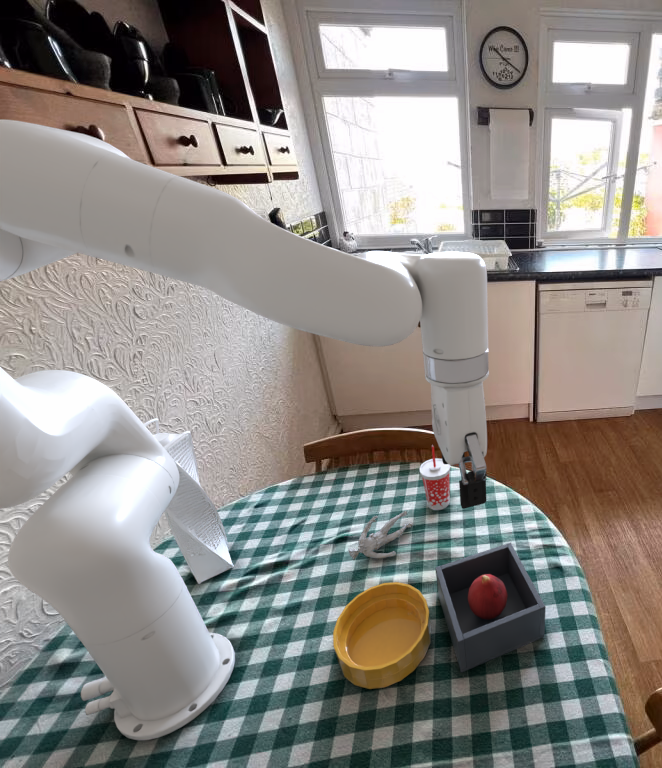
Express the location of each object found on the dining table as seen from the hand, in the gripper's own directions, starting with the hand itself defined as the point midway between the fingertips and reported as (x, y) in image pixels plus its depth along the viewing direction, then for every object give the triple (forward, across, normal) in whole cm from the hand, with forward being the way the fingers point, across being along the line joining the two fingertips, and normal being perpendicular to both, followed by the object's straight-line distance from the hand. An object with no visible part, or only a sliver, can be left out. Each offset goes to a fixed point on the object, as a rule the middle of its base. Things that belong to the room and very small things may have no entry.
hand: (462, 481), depth 55 cm
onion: (+23, +4, +2) cm, 24 cm away
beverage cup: (+24, -24, +1) cm, 34 cm away
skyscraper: (+24, -24, -39) cm, 52 cm away
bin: (+24, +4, +2) cm, 24 cm away
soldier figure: (+24, -17, -11) cm, 32 cm away
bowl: (+24, +2, -13) cm, 27 cm away
